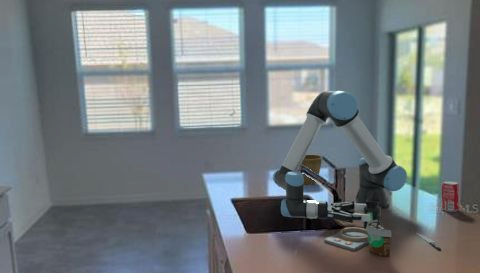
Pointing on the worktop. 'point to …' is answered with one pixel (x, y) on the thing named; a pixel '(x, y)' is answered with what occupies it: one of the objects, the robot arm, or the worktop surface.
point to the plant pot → (311, 166)
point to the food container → (378, 239)
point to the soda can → (450, 196)
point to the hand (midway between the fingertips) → (370, 212)
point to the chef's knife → (429, 241)
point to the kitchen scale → (349, 238)
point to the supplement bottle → (372, 211)
